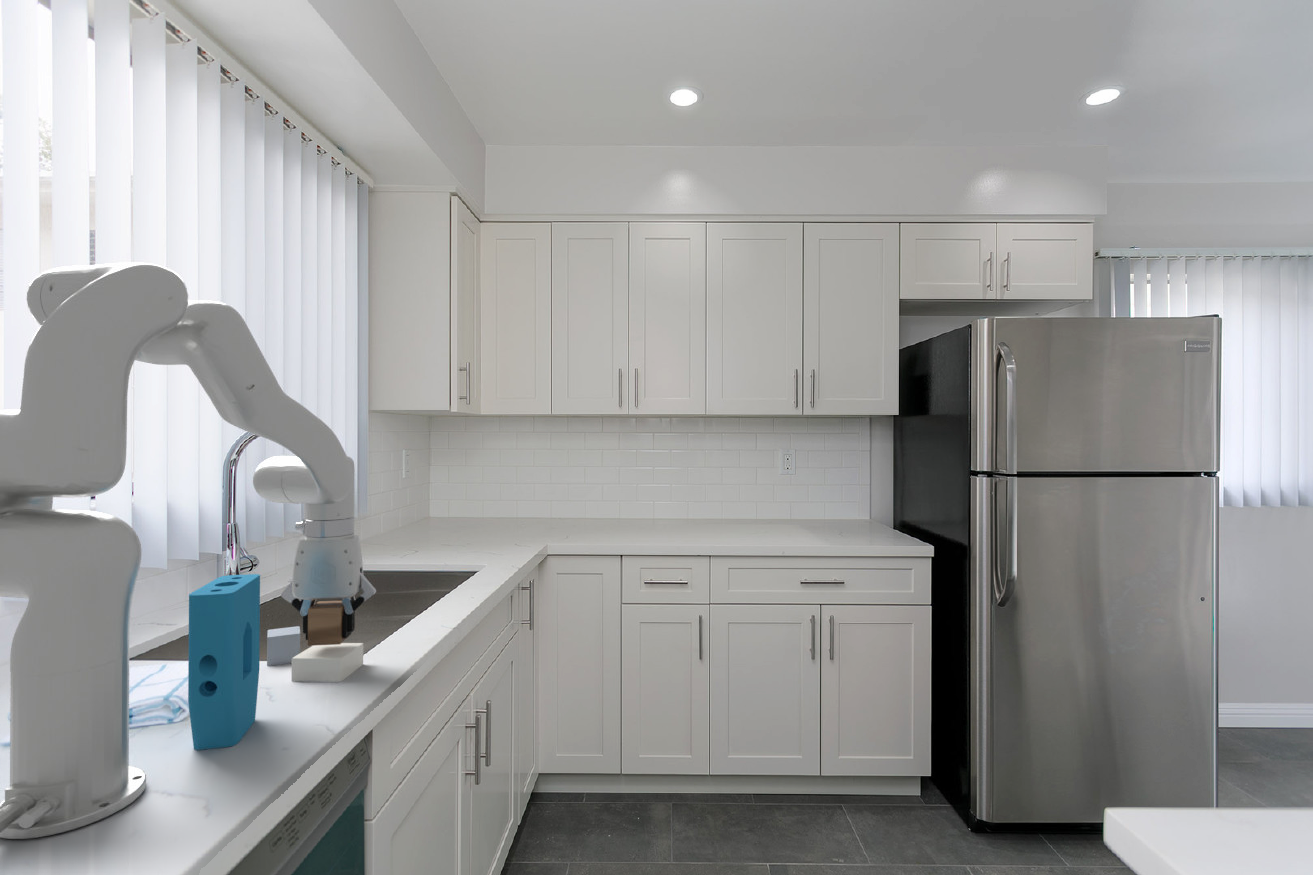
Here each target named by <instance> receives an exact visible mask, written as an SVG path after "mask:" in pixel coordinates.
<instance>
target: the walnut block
mask: <svg viewBox="0 0 1313 875" xmlns="http://www.w3.org/2000/svg"><path fill="white" fill-rule="evenodd" d="M344 610H345V609H344V606H343V603H342V600H326V601H325V600H324V601H323V600H322V601H316V602H315V604H314V605H313V606H312V607H310V608H309V609H308V640H307V647H311V646H313V645H337V644H341V643H344V641H345V640H346V639H347V638H344V639H343V638H342V616H343V615H344Z"/></svg>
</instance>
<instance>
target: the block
mask: <svg viewBox="0 0 1313 875" xmlns="http://www.w3.org/2000/svg"><path fill="white" fill-rule="evenodd" d="M260 620H261V574H258V573H254V574H253V573H252V574H233V575H232V574H231V575H229V574H228V575H221V576H219V577H217V578H215V579H213V580H212V581H210V582H208V583H206V584H205V585H203V586H201V587H199V588H197V589H195V590H194V591H192V592H190V593H189V594H188V662H187V663H188V668H187V669H188V672H187V674H188V675H187V676H188V677H187V679H188V683H187V684H188V685H187V686H188V688H187V689H188V690H187V693H188V694H187V701H188V703H187V704H188V711H189V718H190V719H189V720H190V727H191V737H192V744H193V749H194V750H195V751H199V750H200V751H201V750H212V749H220V748H229V747H230V748H231V747H233V746H236V745H237V744H239V743H240V741H241V740H242V739H243V737H244V736H245V735H246V734H247V732H248V731H249V730H250V728H251V727H252V725H253V724H254V723H255V721H256V716H257V715H256V714H257V703H258V702H257V700H258V691H259V690H258V687H259V680H260V679H259V677H260V654H261V653H260V640H261V639H260V637H261V635H260V634H261V633H260V632H261V631H260V630H261V627H260V624H261V623H260V622H261V621H260Z"/></svg>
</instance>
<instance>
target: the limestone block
mask: <svg viewBox="0 0 1313 875" xmlns="http://www.w3.org/2000/svg"><path fill="white" fill-rule="evenodd" d="M363 665H364V643H363V642H342V643H341V644H337V645H313V646H309V647H307V649H304V650H303V651H302V652H301V651H300V654H298V655H296V656H295V657H293V658H292V662H291V682H314V683H315V682H317V683H319V682H322V683H323V682H324V683H325V682H330V683H333V682H334V683H335V682H337V683H338V682H339V683H341V682H342V681H344V680H345V679H347V677H349V676H350V675H351V674H353V673H354V672H355V671H357V670H358V669H359V668H361V667H362V666H363Z"/></svg>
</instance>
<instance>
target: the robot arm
mask: <svg viewBox="0 0 1313 875" xmlns="http://www.w3.org/2000/svg"><path fill="white" fill-rule="evenodd" d="M188 292H189V291H188V288H187V286H186V284H185V281H184V280H183V279H182V278H181V276H180V275H179V274H178V273H177V272H175V271H174V270H171V269H170V268H167V267H166V266H165V267H164V266H161V265H158V264H155V263H147V262H146V263H145V262H123V263H122V262H118V263H117V262H115V263H104V264H91V265H72V266H60V267H55V268H52V269H48V270H45V271H44V272H42V273H40V274H39V275H37V276H36V277H35V278H34V279H33V280H32V281H31V283H29V285H28V289H27V291H26V302H27V307H28V310H29V312H30V314H31V316H32V317H33V318H34V320H35V322H36V323H38V324H39V325H40V327H38V329H37V330H36V332H35V334H34V336H33V337H32V339H31V340H30V344H29V346H28V349H27V351H26V356H25V360H24V369H23V378H22V390H21V398H20V399H21V400H20V409H4V410H0V597H1V598H15V599H16V598H17V599H19V598H20V599H27V600H28V602H27V605H26V607H25V609H24V610H25V611H24V612H23V615H22V617H21V618H20V620H19V622H18V625H17V627H16V629H15V632H14V634H13V637H12V641H11V645H10V646H11V647H10V657H9V662H10V663H9V668H10V669H9V670H10V697H9V699H10V707H9V708H10V710H9V711H10V713H9V714H10V716H9V717H10V718H9V720H10V724H9V725H10V726H9V727H10V730H9V732H10V733H9V734H10V735H9V737H10V738H9V742H10V743H9V745H10V746H9V747H10V748H9V786H8V787H6V788H5V789H4V799H3V800H2V801H1V802H0V838H2V839H8V840H28V839H34V838H36V839H37V838H43V837H48V836H52V835H53V836H54V835H57V834H60V833H65V832H68V831H72V830H75V829H78V828H81V827H85V826H88V825H91V824H93V823H96V822H98V821H101V820H103V819H105V818H107V817H108V816H109V817H110V816H111V815H113V814H115V813H117V812H119V811H120V810H123V809H124V808H125V807H127V806H128V805H131V803H133V802H134V801H136V799H138V798H139V797H140V796H141V795H142V793H143V792H144V791H145V789H146V786H147V774H146V773H145V771H144V770H142V769H140V768H138V767H136V766H135V767H134V766H132V765H129V764H130V763H129V762H130V761H129V760H130V759H129V757H130V756H129V755H130V749H129V748H130V627H131V626H130V624H131V622H130V621H131V610H132V602H133V596H134V591H135V587H136V583H137V579H138V575H139V571H140V567H141V564H142V563H141V561H142V546H141V541H140V538H139V536H138V534H137V532H136V531H135V529H134V528H132V526H131V525H130V524H128V523H127V522H126V521H125V520H123V519H121V518H119V517H117V516H115V515H111V514H109V513H103V512H100V511H94V510H93V511H92V510H82V509H79V510H78V509H57V508H56V509H53V500H54V498H70V499H71V498H86V497H94V496H98V495H100V494H103V493H106V492H108V491H110V490H111V489H113V488H114V487H115V486H117V484H118V483H119V482H120V481H121V479H122V477H123V475H124V472H125V469H126V463H127V443H128V442H127V439H128V437H127V435H128V392H129V383H130V382H129V381H130V375H131V370H132V367H133V366H134V363H135V361H137V362H142V363H146V364H151V365H164V366H169V365H170V366H174V365H175V366H177V365H180V366H181V365H184V366H185V365H186V366H188V367H189V368H190V370H191V371H192V373H193V374H194V376H195V378H196V379H197V380H198V383H199V384H200V385H201V387H202V388H203V390H204V391H205V394H206V395H207V396H208V398H209V400H210V401H211V403H212V405H213V406H214V408H215V409H216V412H217V413H218V414H219V416H220V417H221V418H222V420H224V421H225V422H226V423H228V424H230V425H232V426H233V427H236V428H238V429H240V430H242V431H245V432H248V433H250V434H253V435H256V436H258V437H261V438H264V439H266V440H270V441H272V442H274V443H276V444H278V445H280V446H281V447H283V448H285V449H286V450H288V451H290V452H291V453H292V454H293V455H287V454H286V455H276V456H272V457H269V458H267V459H265V460H264V461H262V462H261V463H260V464H259V465H258V466H257V467H256V469H255V471H254V473H253V476H252V484H253V488H254V490H255V492H256V493H257V494H258V496H260V497H261V498H262V499H264V500H267V501H268V502H272V503H276V504H277V503H279V504H294V505H295V504H297V505H299V504H304V505H303V506H304V512H303V513H304V514H303V515H304V519H302V521H300V522H299V521H297V522H296V523H295V525H294V529H295V531H300V532H302V535H303V536H302V537H300V538H298V541H297V543H296V549H295V556H294V561H293V569H292V570H293V571H292V580H291V582H290V583H289V584H288V585H287V586H286V587H285V588H284V590H283V591H282V592H281V594H280V597H281V598H282V599H284V600H285V601H286V602H288V603H290V604H291V606H292V607H293V608H295V610H297V612H299V614H300V615H301V617H302V633H303V635H305V641H308V609H309V608H310V607H312V606H313V605H314V604H316V603H317V600H332V599H335V600H336V599H338V600H339V599H341V601H342V603H343V606H344V609H345V610H344V615H343V616H342V638H343V639H344V638H346V639H348V638H349V637H350V636H351V635H352V633H353V632H354V631H355V627H356V625H355V623H356V622H355V621H356V620H355V617H356V612H355V611H356V610H358V608H359V607H360V606H361V605H362V604H363V603H365V602H366V601H367V600H369V599H370V598H371V597H372V596H373V595H375V594H376V593H377V589H376V588H375V587H374V586H373V584H372V583H371V582H370V581H369V579H367V577H366V576H365V575H364V564H363V555H362V548H361V543H360V539H359V535H358V534H355V475H356V474H355V462H354V460H353V458H352V457H350V456H348V454H346V452H345V450H344V447H343V446H342V443H341V442H340V440H339V438H338V436H337V435H336V434H335V433H334V431H333V430H332V429H331V428H330V426H329V425H327V424H326V422H323V421H322V419H320V418H319V417H318V416H317V415H315V414H314V413H313V412H312V411H310V410H309V409H308V408H306V407H305V406H304V405H302V404H301V403H299V401H296V400H295V399H293V398H292V397H290V395H289V396H288V395H287V394H286V392H285V391H284V390H283V389H282V387H281V386H280V383H279V382H278V380H277V377H276V376H275V374H274V372H273V371H272V369H271V367H270V364H268V361H267V360H266V358H265V355H263V352H262V351H261V348H260V347H259V345H258V343H257V341H256V339H255V338H254V336H253V334H252V332H251V330H250V329H249V327H248V325H247V323H246V321H245V319H244V318H243V316H242V315H241V314H240V313H239V312H238V311H237V309H235V308H234V307H232V306H231V305H229V304H227V303H225V302H224V303H223V302H220V301H212V300H189V293H188ZM361 590H362V592H363V593H361V594H360V595H359V596H358V597H357V598H356V597H355V595H356V594H357V593H358V592H359V591H361Z"/></svg>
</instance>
